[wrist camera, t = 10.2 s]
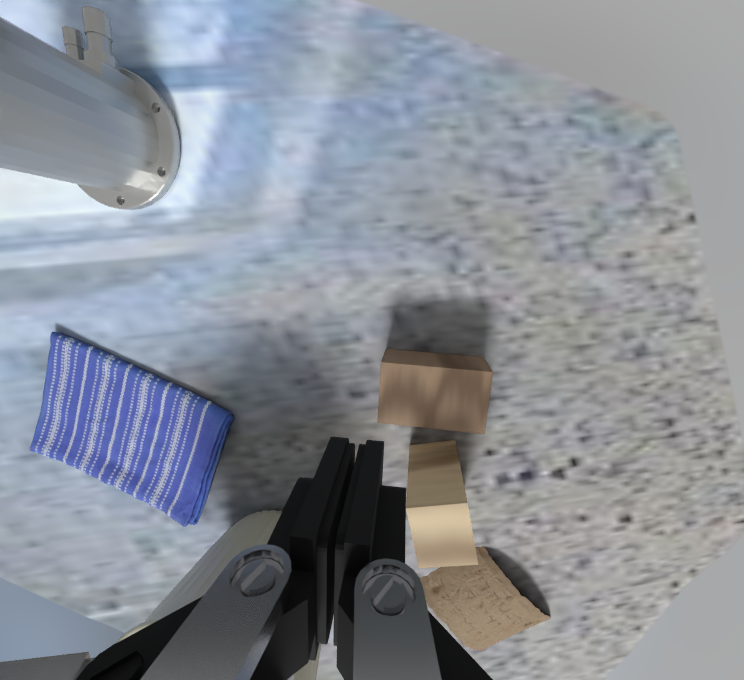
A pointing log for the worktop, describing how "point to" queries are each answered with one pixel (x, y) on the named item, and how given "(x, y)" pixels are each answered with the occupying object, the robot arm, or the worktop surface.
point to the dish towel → (130, 428)
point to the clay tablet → (479, 602)
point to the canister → (213, 563)
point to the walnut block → (434, 390)
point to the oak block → (439, 507)
